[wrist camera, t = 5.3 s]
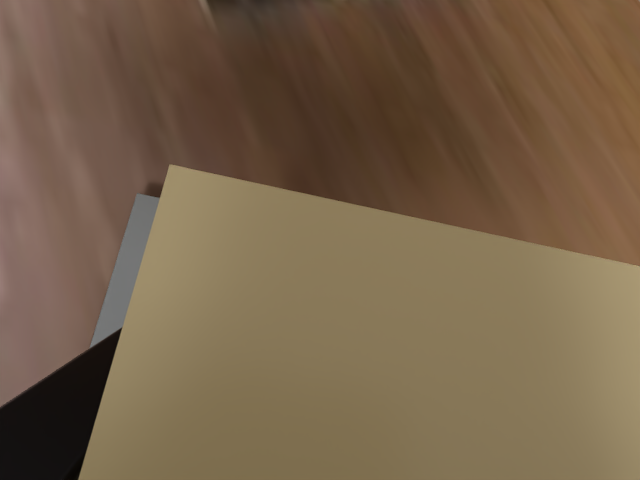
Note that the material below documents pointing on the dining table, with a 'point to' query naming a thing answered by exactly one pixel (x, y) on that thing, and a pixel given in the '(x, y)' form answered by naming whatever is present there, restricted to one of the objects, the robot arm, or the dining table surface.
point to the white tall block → (363, 349)
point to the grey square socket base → (126, 267)
